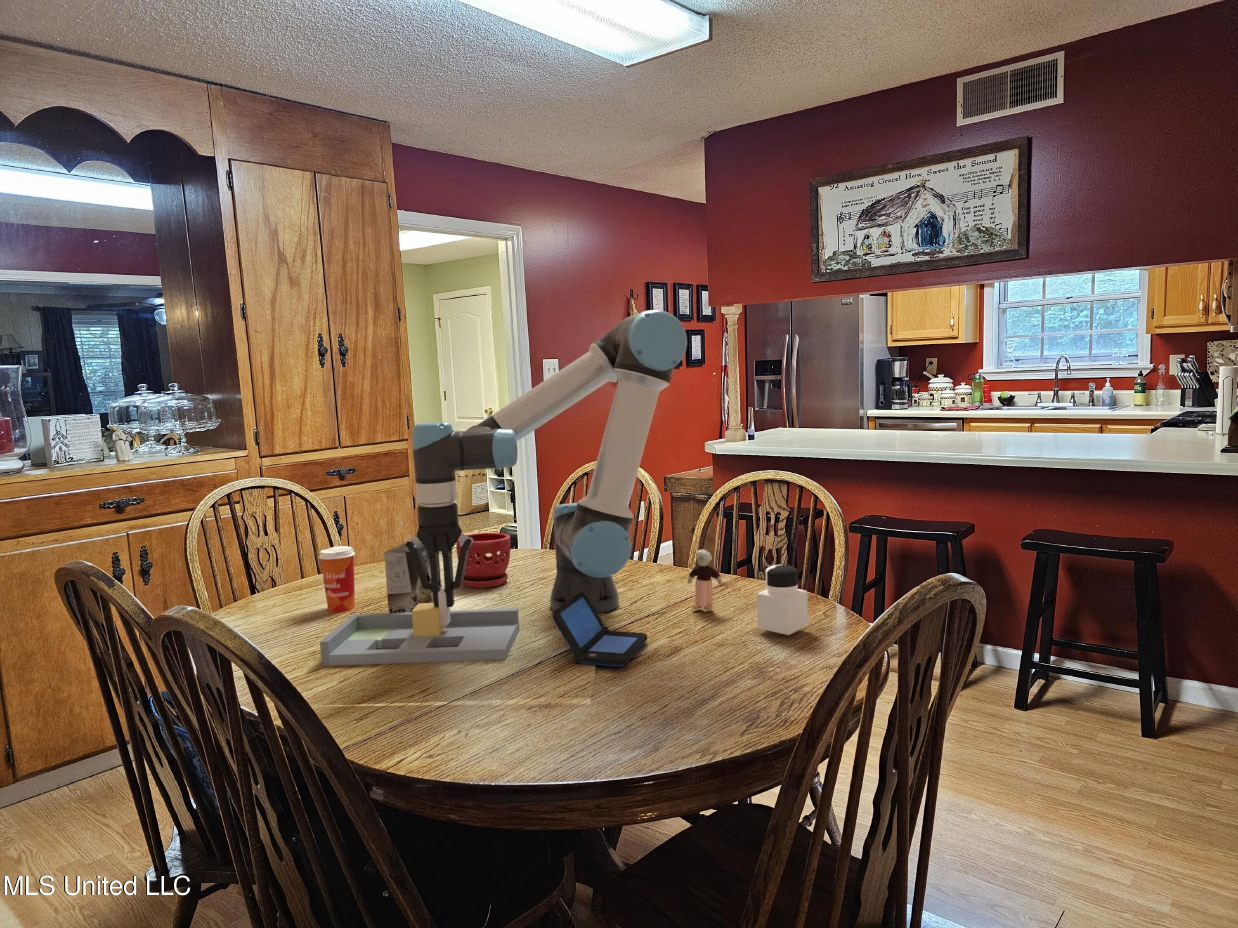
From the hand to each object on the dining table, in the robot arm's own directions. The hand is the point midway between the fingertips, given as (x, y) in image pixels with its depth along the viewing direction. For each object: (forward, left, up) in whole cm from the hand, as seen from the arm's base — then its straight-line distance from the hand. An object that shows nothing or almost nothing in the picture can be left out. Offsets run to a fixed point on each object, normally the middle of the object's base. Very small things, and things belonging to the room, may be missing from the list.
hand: (445, 623), depth 156 cm
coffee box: (+11, -14, -4) cm, 18 cm away
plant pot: (+1, -43, -4) cm, 43 cm away
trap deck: (+3, +4, -4) cm, 6 cm away
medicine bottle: (-65, -1, -4) cm, 65 cm away
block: (+3, 0, -2) cm, 4 cm away
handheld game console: (-31, +8, -4) cm, 32 cm away
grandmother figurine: (-52, -16, -4) cm, 54 cm away
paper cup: (+30, -24, -4) cm, 38 cm away
